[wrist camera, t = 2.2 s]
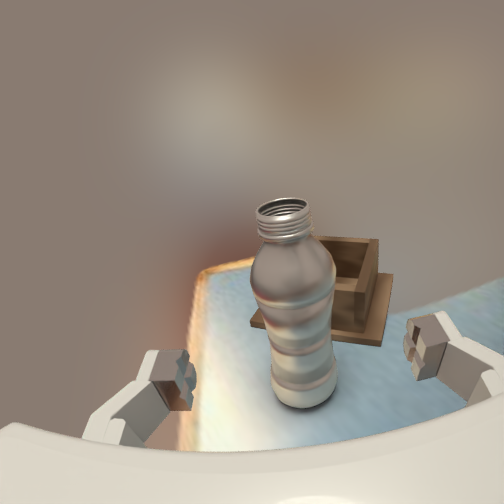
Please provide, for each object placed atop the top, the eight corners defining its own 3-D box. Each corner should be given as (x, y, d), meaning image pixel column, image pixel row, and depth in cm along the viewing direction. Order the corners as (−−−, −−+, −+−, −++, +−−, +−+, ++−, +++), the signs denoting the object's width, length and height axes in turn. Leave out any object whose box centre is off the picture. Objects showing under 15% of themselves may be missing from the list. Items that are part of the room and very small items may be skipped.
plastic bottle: (266, 380, 33) (224, 206, 24) (322, 359, 34) (307, 185, 25) (285, 425, 27) (245, 237, 18) (348, 399, 28) (349, 208, 19)
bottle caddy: (392, 279, 44) (394, 237, 41) (380, 346, 33) (385, 299, 30) (288, 270, 52) (283, 231, 49) (251, 326, 41) (240, 283, 38)
